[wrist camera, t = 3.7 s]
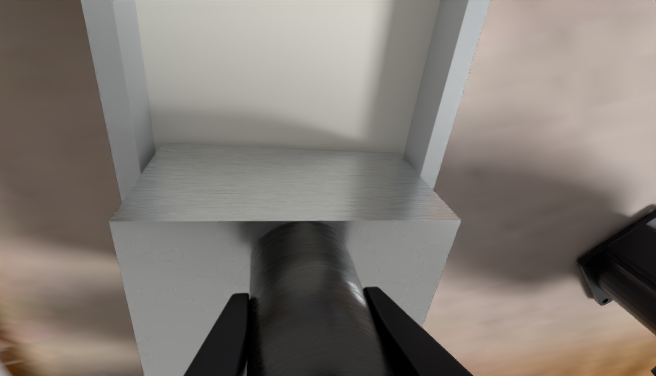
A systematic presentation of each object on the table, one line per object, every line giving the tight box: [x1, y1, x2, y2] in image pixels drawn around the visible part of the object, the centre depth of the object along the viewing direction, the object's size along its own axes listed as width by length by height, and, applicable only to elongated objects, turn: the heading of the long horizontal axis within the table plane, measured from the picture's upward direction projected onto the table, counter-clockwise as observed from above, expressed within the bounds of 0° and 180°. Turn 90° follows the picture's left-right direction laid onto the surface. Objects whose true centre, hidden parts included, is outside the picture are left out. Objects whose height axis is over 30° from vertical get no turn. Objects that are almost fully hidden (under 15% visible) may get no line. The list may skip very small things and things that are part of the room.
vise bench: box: [81, 0, 491, 203], centre depth 14 cm, size 33×13×8 cm, turn 173°
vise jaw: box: [109, 143, 461, 376], centre depth 12 cm, size 8×10×10 cm
